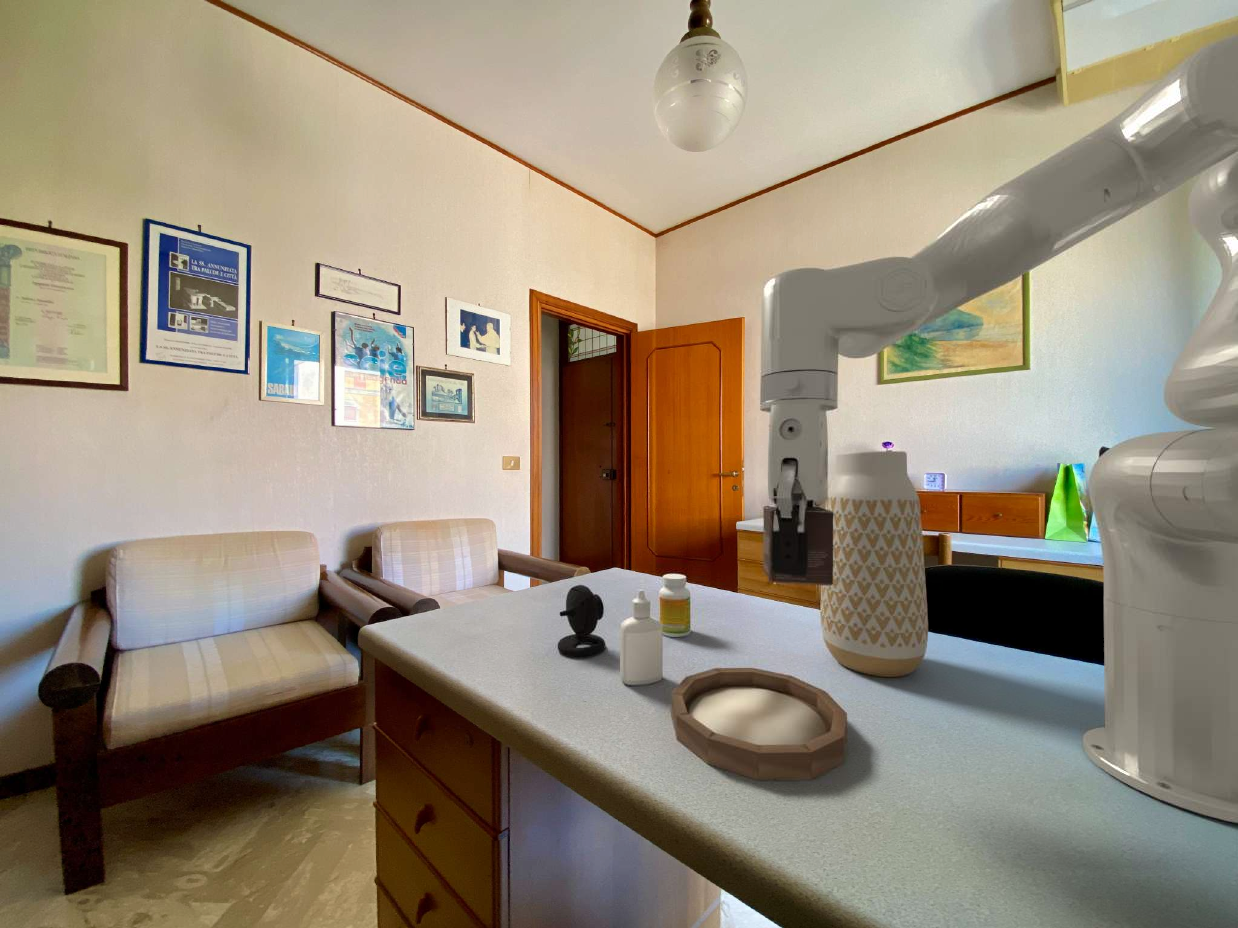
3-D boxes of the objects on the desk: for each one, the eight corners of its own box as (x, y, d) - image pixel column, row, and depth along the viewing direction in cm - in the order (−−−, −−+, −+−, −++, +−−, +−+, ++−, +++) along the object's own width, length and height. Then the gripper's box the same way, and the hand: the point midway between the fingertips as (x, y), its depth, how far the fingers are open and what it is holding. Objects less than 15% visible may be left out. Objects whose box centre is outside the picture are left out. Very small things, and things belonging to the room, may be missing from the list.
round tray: (850, 708, 55) (850, 687, 55) (838, 805, 39) (838, 775, 39) (703, 676, 64) (703, 657, 64) (646, 744, 48) (645, 719, 48)
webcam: (615, 651, 72) (614, 587, 73) (572, 663, 68) (572, 594, 68) (589, 636, 79) (589, 577, 79) (549, 646, 75) (549, 583, 75)
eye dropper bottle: (660, 689, 60) (659, 595, 60) (617, 684, 61) (617, 593, 61) (664, 674, 64) (663, 587, 64) (624, 670, 66) (624, 585, 66)
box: (834, 587, 45) (835, 511, 45) (768, 583, 46) (769, 509, 46) (819, 573, 51) (820, 506, 51) (762, 570, 52) (763, 504, 52)
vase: (908, 695, 58) (907, 449, 59) (803, 661, 69) (802, 452, 69) (941, 664, 67) (939, 451, 68) (844, 638, 78) (842, 454, 78)
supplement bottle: (692, 638, 78) (692, 579, 78) (660, 637, 78) (660, 579, 78) (688, 627, 84) (688, 572, 84) (658, 626, 84) (658, 572, 84)
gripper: (831, 378, 39) (828, 590, 39) (841, 404, 54) (839, 556, 54) (741, 384, 43) (738, 578, 43) (775, 407, 58) (772, 549, 58)
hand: (795, 564), depth 49 cm, fingers closed on box, 7 cm apart
